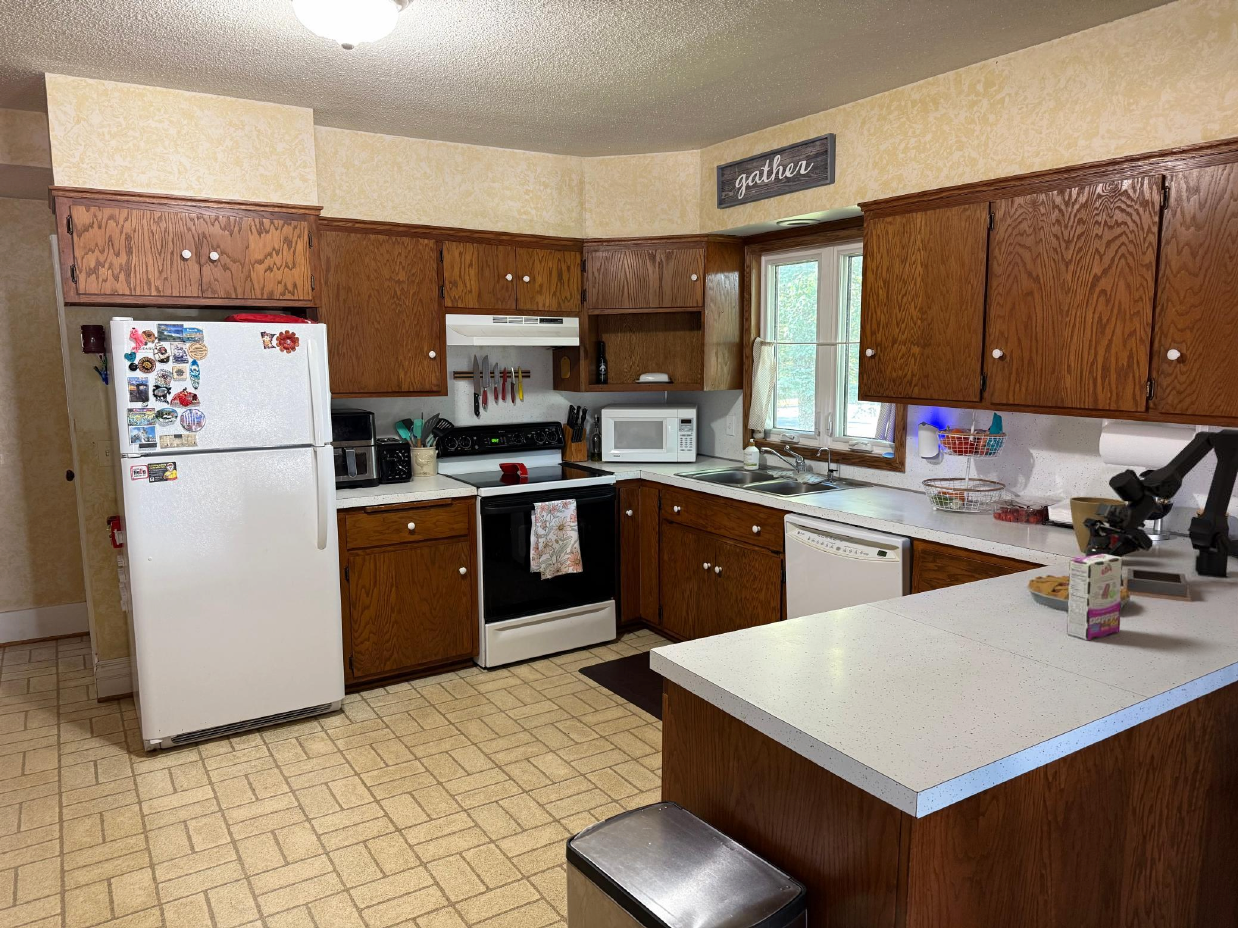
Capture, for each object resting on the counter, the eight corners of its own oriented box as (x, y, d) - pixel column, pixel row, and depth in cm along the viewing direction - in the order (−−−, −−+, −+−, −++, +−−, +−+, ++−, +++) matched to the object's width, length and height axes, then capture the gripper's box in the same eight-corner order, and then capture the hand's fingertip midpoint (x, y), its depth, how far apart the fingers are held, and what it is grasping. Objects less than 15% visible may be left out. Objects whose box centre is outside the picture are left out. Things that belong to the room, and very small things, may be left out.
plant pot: (1127, 559, 247) (1130, 505, 245) (1069, 555, 253) (1072, 502, 251) (1118, 548, 261) (1121, 497, 259) (1064, 545, 266) (1067, 495, 265)
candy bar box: (1097, 626, 185) (1102, 552, 183) (1120, 633, 180) (1125, 557, 178) (1064, 634, 179) (1068, 558, 178) (1086, 641, 175) (1091, 563, 173)
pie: (1013, 604, 203) (1014, 584, 202) (1042, 586, 218) (1043, 567, 218) (1116, 622, 188) (1118, 600, 187) (1139, 602, 204) (1141, 582, 203)
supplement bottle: (1078, 578, 226) (1080, 534, 224) (1102, 577, 226) (1105, 533, 225) (1094, 585, 219) (1097, 539, 217) (1119, 584, 219) (1122, 538, 218)
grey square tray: (1187, 588, 215) (1188, 573, 215) (1190, 601, 203) (1192, 586, 203) (1123, 581, 222) (1124, 567, 222) (1123, 593, 210) (1124, 578, 210)
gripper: (1090, 487, 230) (1052, 529, 229) (1146, 498, 211) (1105, 543, 211) (1114, 515, 232) (1076, 556, 231) (1170, 527, 214) (1130, 573, 213)
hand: (1095, 556), depth 221 cm, fingers closed on supplement bottle, 7 cm apart
